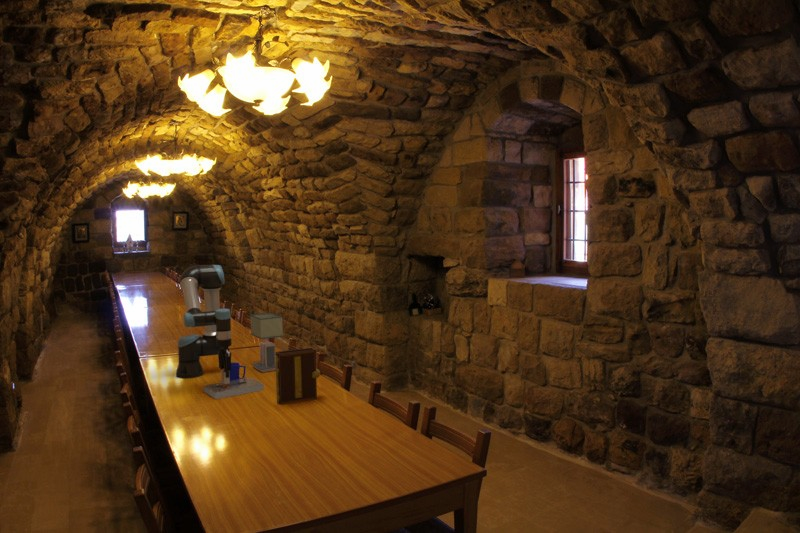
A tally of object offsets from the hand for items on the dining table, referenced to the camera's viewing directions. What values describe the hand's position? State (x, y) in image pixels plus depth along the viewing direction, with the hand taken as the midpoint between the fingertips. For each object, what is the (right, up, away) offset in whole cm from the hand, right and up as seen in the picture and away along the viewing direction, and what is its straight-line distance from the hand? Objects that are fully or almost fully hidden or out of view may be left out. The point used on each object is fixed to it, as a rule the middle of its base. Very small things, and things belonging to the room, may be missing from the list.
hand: (225, 382), depth 312 cm
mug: (0, -4, +21) cm, 22 cm away
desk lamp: (+11, -1, +50) cm, 52 cm away
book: (+41, -6, -15) cm, 44 cm away
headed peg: (0, -5, 0) cm, 5 cm away
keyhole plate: (+4, -5, +3) cm, 7 cm away
